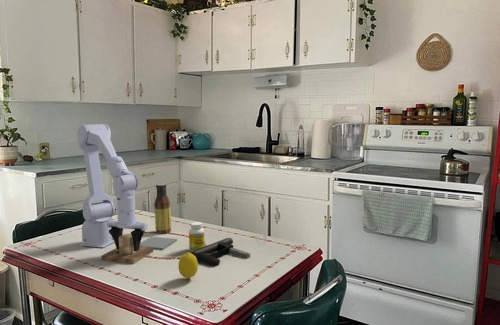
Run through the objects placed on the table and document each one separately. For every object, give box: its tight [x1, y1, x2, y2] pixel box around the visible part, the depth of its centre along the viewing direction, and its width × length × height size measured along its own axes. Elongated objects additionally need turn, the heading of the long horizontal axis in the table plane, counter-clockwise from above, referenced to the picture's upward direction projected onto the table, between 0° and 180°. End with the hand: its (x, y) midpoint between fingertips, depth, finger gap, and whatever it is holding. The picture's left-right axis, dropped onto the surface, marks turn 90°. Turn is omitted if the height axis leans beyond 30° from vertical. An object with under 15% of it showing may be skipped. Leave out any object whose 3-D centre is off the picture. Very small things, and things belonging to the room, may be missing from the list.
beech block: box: [119, 233, 137, 255], centre depth 135 cm, size 4×4×7 cm
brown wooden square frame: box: [101, 246, 154, 265], centre depth 135 cm, size 12×12×2 cm
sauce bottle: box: [154, 182, 172, 235], centre depth 161 cm, size 6×6×20 cm
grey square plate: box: [140, 236, 178, 251], centre depth 147 cm, size 11×11×1 cm
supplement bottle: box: [188, 221, 206, 252], centre depth 140 cm, size 5×5×10 cm
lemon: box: [178, 252, 199, 280], centre depth 115 cm, size 6×6×8 cm
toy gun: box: [190, 237, 251, 267], centre depth 135 cm, size 3×20×16 cm
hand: (127, 249), depth 135 cm, fingers open, 6 cm apart
